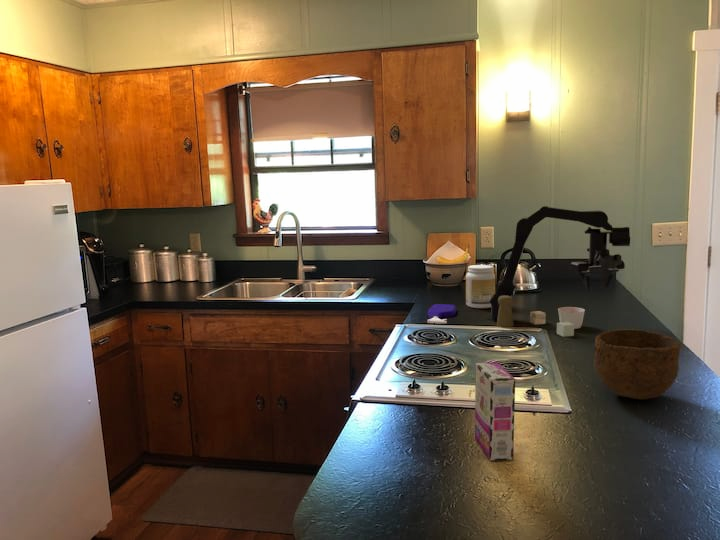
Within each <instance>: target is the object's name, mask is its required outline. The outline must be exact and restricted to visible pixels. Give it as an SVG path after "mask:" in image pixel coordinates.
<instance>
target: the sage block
mask: <svg viewBox="0 0 720 540" xmlns="http://www.w3.org/2000/svg"><path fill="white" fill-rule="evenodd" d="M556 334H557V335H559V336H561V337H574V336H575V329H574V324H572V323H569V322H560V321H559V322H556Z"/></svg>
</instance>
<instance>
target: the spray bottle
mask: <svg viewBox="0 0 720 540" xmlns="http://www.w3.org/2000/svg"><path fill="white" fill-rule="evenodd" d="M456 313H457V307H456V306H455V305H454V304H446V303H445V304H443V303H440V304H439V303H435V304H433V305H432V306H431V307H430V308H429V309H428V311H427V317H428V318H429V319H427V324H434V323H435V324H438V325H446V324H448V319H447V318H451V317H454V316H455V315H456ZM443 318H444V319H443Z"/></svg>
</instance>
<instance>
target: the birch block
mask: <svg viewBox="0 0 720 540" xmlns="http://www.w3.org/2000/svg"><path fill="white" fill-rule="evenodd" d="M529 314H530V315H529V322H530V323H531V324H533V325H535V326H536V325H544V324H545V325H546V321H547V320H546V312H543V311H541V310H537V311H530V312H529Z"/></svg>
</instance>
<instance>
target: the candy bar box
mask: <svg viewBox="0 0 720 540" xmlns="http://www.w3.org/2000/svg"><path fill="white" fill-rule="evenodd" d="M474 387H475V389H474V390H475V391H474V394H475V395H474V398H475V400H474V403H475V404H474V438H475V440H476V442H477V443H478V444H479V446H480V448H481V449H482V451H483V453H484V454H485V455H486V457H487V458H488V460H489V462H497V461H498V462H503V461H504V462H505V461H506V462H507V461H513V460H514V445H515V444H514V439H515V438H514V437H515V433H514V432H515V407H516V406H515V405H516V404H515V402H516V401H515V400H516V399H515V398H516V378H514V376H513V375H512V374H510V373H509V371H507V369H505V368H504V367H503V366H502V365H501V364H499V362H494V361H493V362H476V363H475V386H474Z"/></svg>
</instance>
